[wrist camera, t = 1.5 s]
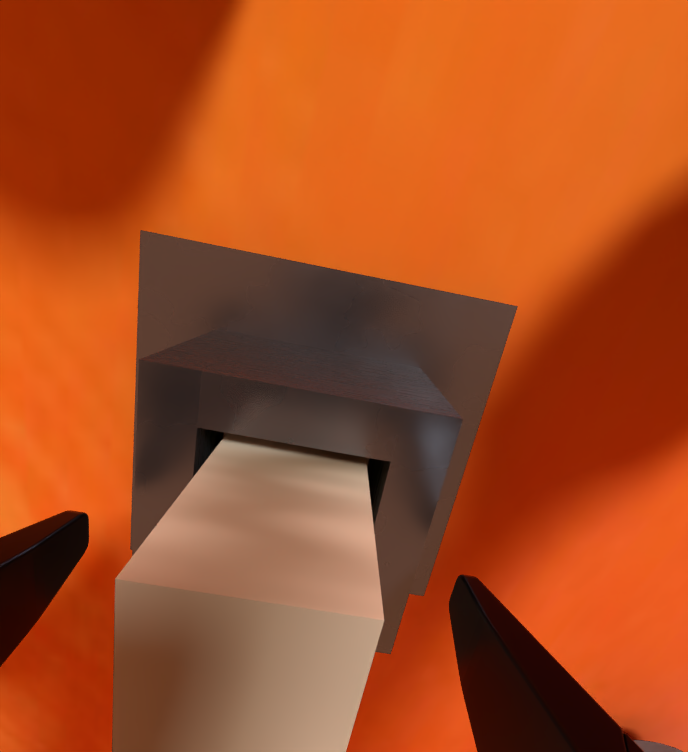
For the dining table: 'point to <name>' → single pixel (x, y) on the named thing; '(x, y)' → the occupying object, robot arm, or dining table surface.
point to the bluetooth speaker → (655, 747)
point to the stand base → (312, 386)
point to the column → (250, 607)
